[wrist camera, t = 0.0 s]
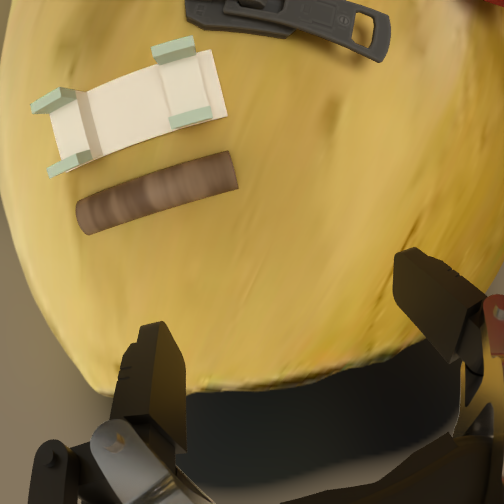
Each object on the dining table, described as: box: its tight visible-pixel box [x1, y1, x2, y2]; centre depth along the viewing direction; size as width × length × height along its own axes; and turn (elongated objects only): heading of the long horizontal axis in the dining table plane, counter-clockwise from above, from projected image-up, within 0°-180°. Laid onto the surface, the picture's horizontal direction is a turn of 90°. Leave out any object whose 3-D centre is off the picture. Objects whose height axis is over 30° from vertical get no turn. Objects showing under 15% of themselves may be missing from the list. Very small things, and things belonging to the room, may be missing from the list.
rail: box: [76, 151, 238, 235], centre depth 33 cm, size 20×5×5 cm, turn 103°
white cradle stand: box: [30, 35, 228, 178], centre depth 26 cm, size 22×9×9 cm, turn 103°
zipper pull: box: [185, 0, 391, 63], centre depth 25 cm, size 9×7×25 cm
